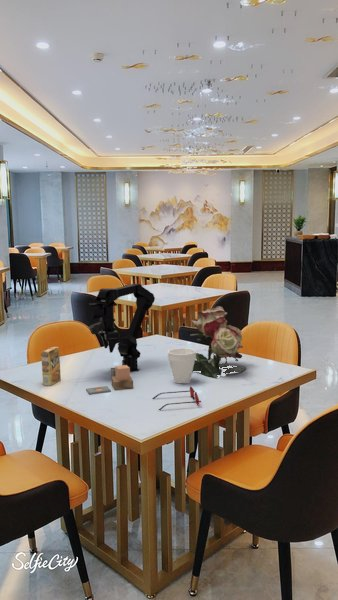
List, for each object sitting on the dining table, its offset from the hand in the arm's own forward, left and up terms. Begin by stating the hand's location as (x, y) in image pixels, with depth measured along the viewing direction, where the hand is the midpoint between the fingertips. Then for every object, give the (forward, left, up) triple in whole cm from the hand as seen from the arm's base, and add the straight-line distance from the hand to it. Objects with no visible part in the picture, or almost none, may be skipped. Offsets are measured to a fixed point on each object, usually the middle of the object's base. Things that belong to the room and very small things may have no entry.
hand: (108, 350), depth 234 cm
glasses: (-14, +46, -13) cm, 50 cm away
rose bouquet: (-51, +11, -12) cm, 53 cm away
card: (+10, +20, -12) cm, 25 cm away
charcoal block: (-2, +7, -12) cm, 14 cm away
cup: (-27, +22, -12) cm, 37 cm away
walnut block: (-1, +18, -12) cm, 22 cm away
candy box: (+26, 0, -12) cm, 29 cm away
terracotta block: (-1, +18, -8) cm, 20 cm away
